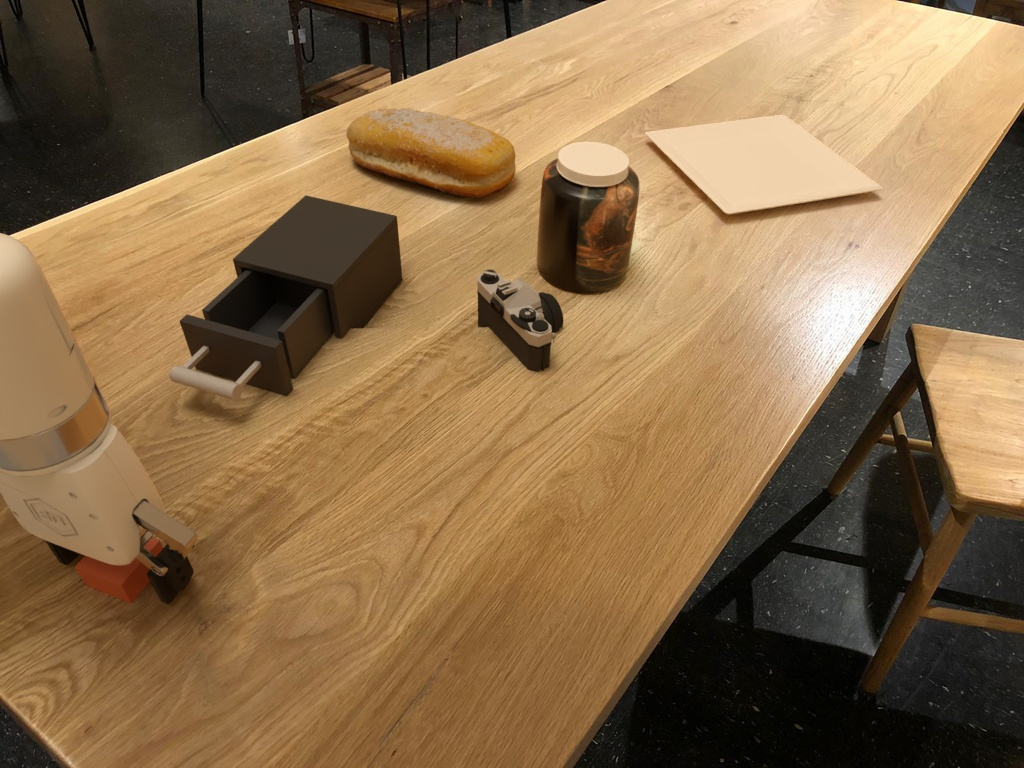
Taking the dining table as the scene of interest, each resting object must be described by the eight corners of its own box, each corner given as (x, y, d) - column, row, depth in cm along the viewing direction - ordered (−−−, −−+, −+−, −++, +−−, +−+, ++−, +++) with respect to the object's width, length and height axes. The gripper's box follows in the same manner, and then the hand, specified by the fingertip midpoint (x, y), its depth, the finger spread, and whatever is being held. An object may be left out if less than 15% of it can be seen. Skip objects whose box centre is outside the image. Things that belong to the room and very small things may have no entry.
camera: (590, 365, 84) (595, 295, 78) (532, 391, 80) (533, 320, 75) (522, 311, 92) (522, 244, 87) (467, 332, 89) (463, 264, 83)
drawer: (260, 436, 74) (244, 381, 69) (166, 407, 76) (144, 351, 71) (354, 325, 86) (346, 271, 81) (270, 303, 89) (258, 249, 84)
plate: (780, 124, 130) (784, 112, 129) (879, 199, 112) (884, 186, 111) (642, 142, 124) (644, 130, 122) (723, 225, 106) (726, 212, 104)
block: (138, 615, 61) (120, 585, 58) (94, 597, 62) (74, 567, 59) (175, 571, 64) (159, 540, 61) (131, 554, 65) (114, 523, 62)
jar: (522, 280, 95) (527, 169, 85) (553, 234, 103) (561, 127, 93) (613, 303, 92) (630, 191, 82) (638, 254, 100) (656, 146, 90)
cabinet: (343, 351, 84) (332, 284, 78) (250, 325, 87) (232, 258, 81) (402, 280, 94) (397, 215, 88) (316, 259, 97) (305, 195, 91)
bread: (487, 215, 106) (488, 161, 101) (331, 170, 114) (323, 119, 109) (529, 174, 115) (531, 123, 110) (380, 135, 123) (376, 86, 118)
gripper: (-111, 421, 49) (5, 573, 60) (108, 499, 44) (188, 645, 56) (-14, 350, 54) (76, 502, 65) (191, 413, 50) (248, 564, 61)
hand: (127, 568), depth 61 cm, fingers open, 9 cm apart
